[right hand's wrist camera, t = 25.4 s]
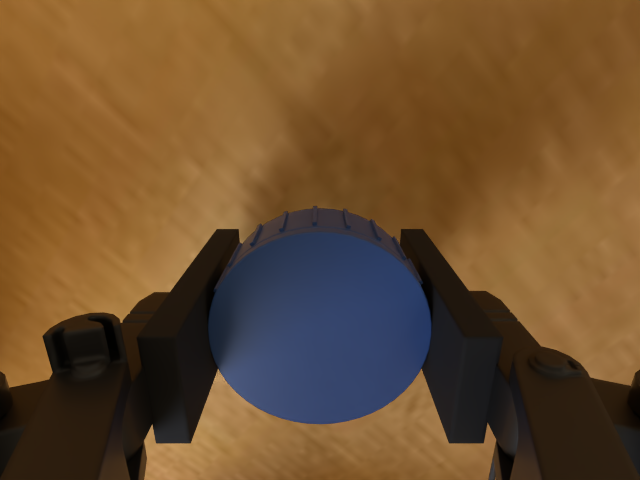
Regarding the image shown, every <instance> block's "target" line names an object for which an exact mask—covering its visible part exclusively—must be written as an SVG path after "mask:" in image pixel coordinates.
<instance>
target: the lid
mask: <svg viewBox="0 0 640 480" xmlns="http://www.w3.org/2000/svg"><path fill="white" fill-rule="evenodd" d="M421 284H423V282H422V280H421V278H420V276H419V274H418V272H417V271H416V269H415V267H414V265H413V263H412V261H411V260H410V258H409V259H407V258H406V256H405V254H404V252H403V250H402V248H401V246H400V245H399V243H398V241H397V239H396V238H395V237H391V236H390V235H388V234H387V233H386V232H385V231H384V230H383V229H381V228H380V227H378V226H377V225H376V223H375V221H374V220H372V219H371V220H370V221H369V220H367V219H364V218H362V217H360V216H358V215H355V214H352V213H349V212H348V211H347V209H343V211H340V210H335V209H321V208H317V206H313V209H305V210H300V211H295V212H291V213H288V211H285V212H284V213H283V215H282V216H279V217H277V218H275V219H273V220H271V221H269V222H267V223H266V224H264V225H263V226H262V225H261V224H259V225H258V226H257V228H256V231H255V232H254V233H252V234H251V235H250V236H249V237H248V238H247V239H246V240H245V241H244V243H243V244H241V243H239V244H238V246H237V248H236V249H235V251H234V253H233V255H232V257H231V259H230V261H229V263H228V264H227V266H226V268H225V269H224V271H223V273H222V275H221V277H220V279H219V281H218V283H217V284H216V286H215V288H214V291H213V292H215V295H214V297H213V299H212V303H211V307H210V310H209V317H208V335H209V343H210V349H211V352H212V355H213V358H214V361H215V363H216V365H217V367H218V369H219V371H220V372H221V374H222V375H223V377H224V378H225V380H226V381H227V382H228V384H229V385H230V386H231V387H232V388H233V389H234V390H235V391H236V392H237V393H238V394H239V395H240V396H241V397H243V398H244V399H245V400H246V401H248V402H249V403H251V404H252V405H254V406H255V407H257V408H259V409H261V410H263V411H265V412H267V413H269V414H271V415H274V416H277V417H279V418H282V419H286V420H290V421H294V422H300V423H307V424H331V423H339V422H345V421H350V420H353V419H357V418H360V417H363V416H366V415H368V414H371V413H373V412H375V411H377V410H379V409H381V408H383V407H384V406H386V405H387V404H389V403H390V402H392V401H393V400H395V399H396V398H397V397H398V396H399V395H400V394H402V393H403V392H404V391H405V390H406V389H407V387H408V386H409V385H410V384H411V383H412V382H413V380H414V379H415V378H416V376H417V375H418V373H419V372H420V370H421V368H422V366H423V364H424V362H425V360H426V357H427V354H428V351H429V347H430V340H431V331H432V320H431V312H430V308H429V304H428V301H427V298H426V296H425V293H424V291H423V289H422V287H421Z"/></svg>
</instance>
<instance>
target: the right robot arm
mask: <svg viewBox="0 0 640 480" xmlns="http://www.w3.org/2000/svg"><path fill="white" fill-rule="evenodd" d="M239 243H240V241H239V229H217V230H216V231H215V232H214V234H213V235H212V236H211V238H210V239H209V241H208V242H207V243H206V245H205V246H204V247H203V249H202V250H201V251H200V253H199V254H198V255H197V257H196V258H195V259H194V261H193V262H192V263H191V265H190V266H189V267H188V269H187V270H186V271H185V273H184V274H183V275H182V277H181V278H180V279H179V281H178V282H177V283H176V285H175V286H174V287H173V289H172V290H171V291H170V292H154V293H152V294H151V295H149V296H147V297H146V298H144V299H142V300H141V301H139V302H138V303H137V305H136V306H135V307H134V308H133V309H132V310H131V312H130V314H128V315H127V316H126V317H125V319H124V320H123V323H120V319H119V318H118V317H116V316H115V315H113V314H108V313H89V314H84V315H79V316H75V317H72V318H70V319H67V320H64V321H62V322H60V323H58V324H57V325H55V326H53V327H52V328H50V329H49V330H48V331H47V332H46V333H45V334H44V335H43V340H44V343H45V347H46V350H47V354H48V357H49V361H50V364H51V368H52V371H53V373H52V375H51V377H50V379H49V380H45V381H41V382H36V383H31V384H26V385H21V386H16V387H11V388H9V386H8V383H7V380H6V377H5V374H3V373H2V372H0V480H144V477H145V469H146V461H147V456H146V449H145V444H144V439H145V437H146V435H147V433H148V431H149V429H150V427H151V425H152V424H153V429H154V435H155V440H156V443H191V441H192V438H193V435H194V433H195V430H196V427H197V425H198V422H199V419H200V416H201V414H202V411H203V408H204V405H205V403H206V400H207V397H208V395H209V392H210V389H211V386H212V384H213V381H214V378H215V375H216V373H217V370H218V367H217V365H216V363H215V361H214V358H213V355H212V352H211V349H210V343H209V335H208V317H209V310H210V307H211V303H212V299H213V297H214V295H215V292H213V291H214V288H215V286H216V284H217V283H218V281H219V279H220V277H221V275H222V273H223V271H224V269H225V268H226V266H227V264H228V263H229V261H230V259H231V257H232V255H233V253H234V251H235V249H236V248H237V246H238V244H239ZM400 246H401V248H402V250H403V252H404V254H405V256H406V258H407V259H409V258H410V260H411V261H412V263H413V265H414V267H415V269H416V271H417V272H418V274H419V276H420V278H421V280H422V282H423V284H421V287H422V289H423V291H424V293H425V296H426V298H427V301H428V304H429V308H430V312H431V320H432V331H431V340H430V347H429V351H428V354H427V357H426V360H425V362H424V364H423V366H422V371H423V373H424V376H425V379H426V382H427V384H428V387H429V390H430V393H431V395H432V398H433V401H434V403H435V406H436V409H437V412H438V414H439V417H440V420H441V423H442V425H443V428H444V431H445V433H446V436H447V439H448V442H449V443H484V439H485V433H486V428H487V423H488V424H489V426H490V428H491V430H492V432H493V434H494V436H495V438H496V444H495V449H494V454H493V459H492V464H491V469H490V474H489V480H495V477H496V480H640V370H639V371H637V372H636V373H635V375H634V378H633V381H632V384H631V386H628V385H623V384H618V383H613V382H608V381H603V380H598V379H594V378H590V376H589V374H588V372H587V371H586V370H585V369H584V367H583V366H582V365H581V364H580V363H579V362H577V361H576V360H574V359H573V358H572V357H570V356H568V355H566V354H564V353H561V352H559V351H557V350H553V349H549V348H545V347H541V346H540V345H539V344H538V342H537V341H536V340H535V339H534V338H533V337H532V336H531V334H530V333H529V332H528V331H527V330H526V329H525V327H524V326H523V325H522V324H521V323H520V322H519V321H517V318H516V317H515V316H514V315H513V314H512V313H510V310H509V309H508V308H507V307H506V306H505V304H504V303H503V302H502V301H501V300H500V299H498V298H497V297H495V296H493V295H491V294H490V293H488V292H486V291H468V289H467V288H466V286H465V285H464V284H463V282H462V281H461V280H460V278H459V277H458V276H457V274H456V273H455V272H454V270H453V269H452V268H451V266H450V265H449V264H448V262H447V261H446V260H445V258H444V257H443V256H442V254H441V253H440V252H439V250H438V249H437V248H436V246H435V245H434V244H433V242H432V241H431V240H430V238H429V237H428V236H427V234H426V233H425V231H424V230H423V229H401V238H400Z"/></svg>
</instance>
